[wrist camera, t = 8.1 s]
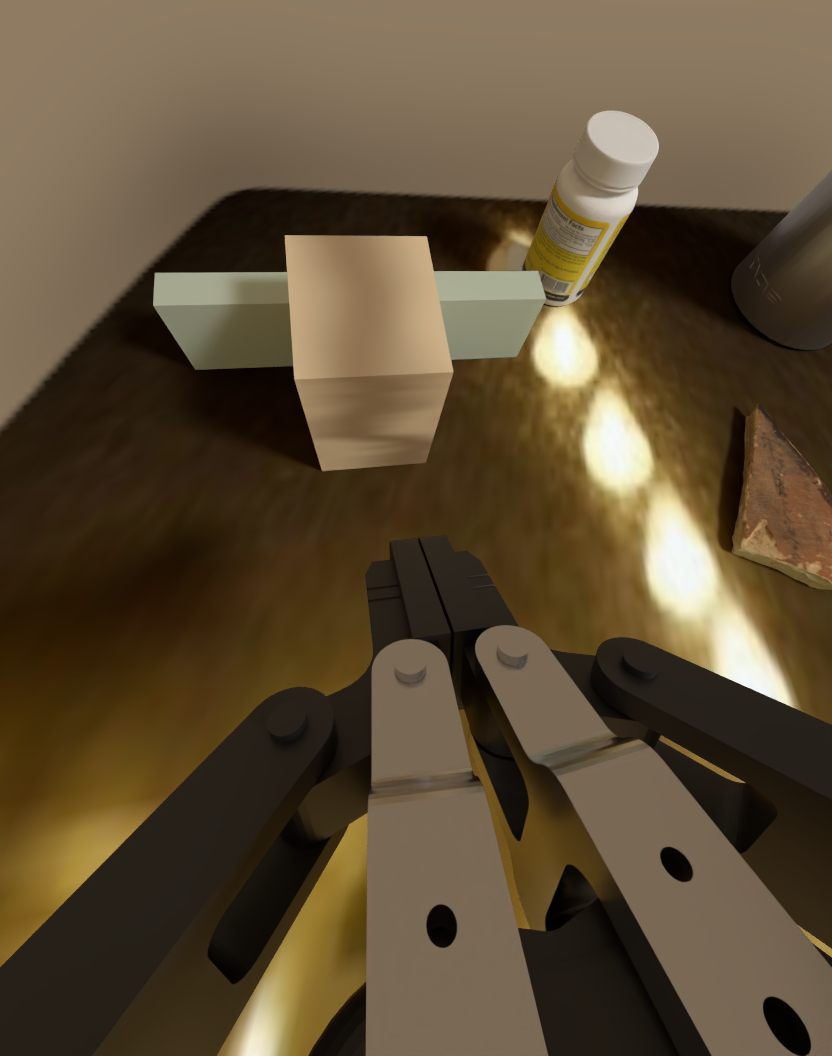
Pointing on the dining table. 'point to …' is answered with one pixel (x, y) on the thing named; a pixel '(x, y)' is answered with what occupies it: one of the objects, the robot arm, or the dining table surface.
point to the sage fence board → (265, 328)
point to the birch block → (367, 347)
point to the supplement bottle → (590, 203)
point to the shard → (783, 507)
